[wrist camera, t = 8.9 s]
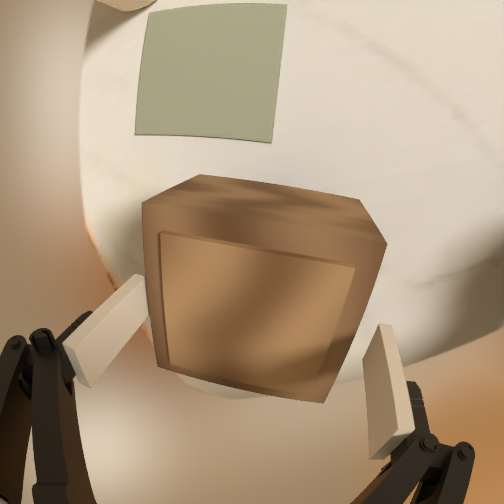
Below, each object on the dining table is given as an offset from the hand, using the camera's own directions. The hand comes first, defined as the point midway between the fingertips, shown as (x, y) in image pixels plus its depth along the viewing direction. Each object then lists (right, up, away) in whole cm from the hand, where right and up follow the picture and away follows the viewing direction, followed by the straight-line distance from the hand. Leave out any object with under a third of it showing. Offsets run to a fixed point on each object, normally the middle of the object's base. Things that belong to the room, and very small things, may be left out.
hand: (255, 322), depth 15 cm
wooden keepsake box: (+1, +3, +7) cm, 8 cm away
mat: (-5, +23, +10) cm, 26 cm away
